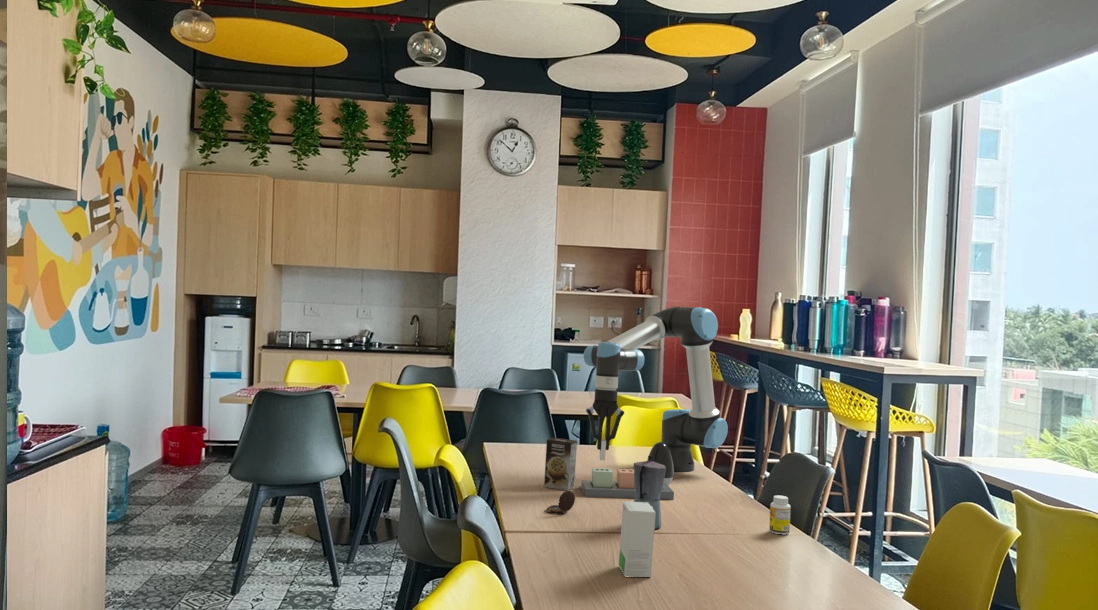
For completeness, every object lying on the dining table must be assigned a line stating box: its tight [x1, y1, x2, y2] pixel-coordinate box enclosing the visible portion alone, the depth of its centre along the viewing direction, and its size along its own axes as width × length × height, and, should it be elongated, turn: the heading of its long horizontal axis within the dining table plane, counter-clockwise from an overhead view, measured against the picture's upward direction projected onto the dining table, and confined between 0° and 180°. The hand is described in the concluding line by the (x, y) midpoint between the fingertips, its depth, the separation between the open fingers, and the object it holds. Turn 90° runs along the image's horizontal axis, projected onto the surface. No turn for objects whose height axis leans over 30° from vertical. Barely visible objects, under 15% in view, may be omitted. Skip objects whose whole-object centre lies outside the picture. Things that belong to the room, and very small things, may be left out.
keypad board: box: [580, 479, 675, 501], centre depth 268 cm, size 29×13×2 cm, turn 94°
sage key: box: [591, 467, 613, 487], centre depth 267 cm, size 6×6×5 cm
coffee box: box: [543, 437, 578, 491], centre depth 272 cm, size 9×6×16 cm
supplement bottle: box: [768, 494, 791, 536], centre depth 228 cm, size 6×6×10 cm
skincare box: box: [618, 501, 656, 578], centre depth 187 cm, size 8×7×16 cm
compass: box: [543, 490, 576, 515], centre depth 238 cm, size 8×8×7 cm
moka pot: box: [633, 454, 666, 530], centre depth 228 cm, size 10×15×20 cm, turn 161°
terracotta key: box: [616, 468, 635, 488], centre depth 268 cm, size 6×6×5 cm
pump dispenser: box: [646, 441, 675, 486], centre depth 284 cm, size 10×10×15 cm
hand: (602, 459), depth 267 cm, fingers closed
